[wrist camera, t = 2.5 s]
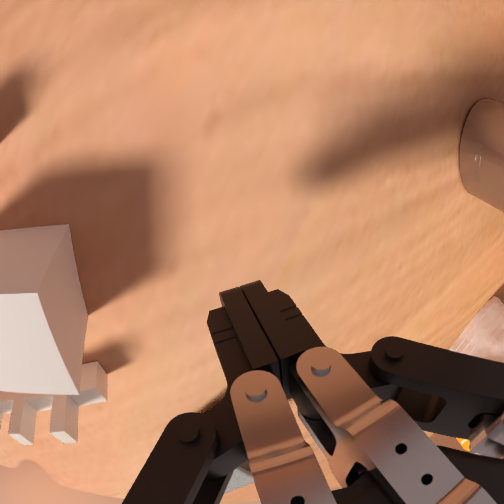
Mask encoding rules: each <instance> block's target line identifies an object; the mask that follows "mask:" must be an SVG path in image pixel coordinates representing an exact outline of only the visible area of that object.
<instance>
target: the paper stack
mask: <svg viewBox="0 0 504 504" xmlns="http://www.w3.org/2000/svg"><path fill="white" fill-rule="evenodd" d="M450 351H454V352H459V353H463V354H467V355H471V356H476V357H480V358H484V359H489V360H493V361H498V362H502V363H504V304H503V303H502V302H501V301H500V299H499V298H497V297H496V296H493V297H492V298H491V299H489V300H488V302H487V303H486V304H485V305H484V306H483V307H482V308H481V309H480V310H479V312H478V313H477V314H476V315H475V316H474V318H473V319H472V320H471V321H470V322H469V324H468V325H467V326H466V328H465V329H464V330H463V332H462V333H461V334H460V336H459V337H458V338H457V340H456V341H455V342H454V344H453V345H452V346H451V348H450ZM474 454H478V453H474ZM479 455H480V454H479Z"/></svg>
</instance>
